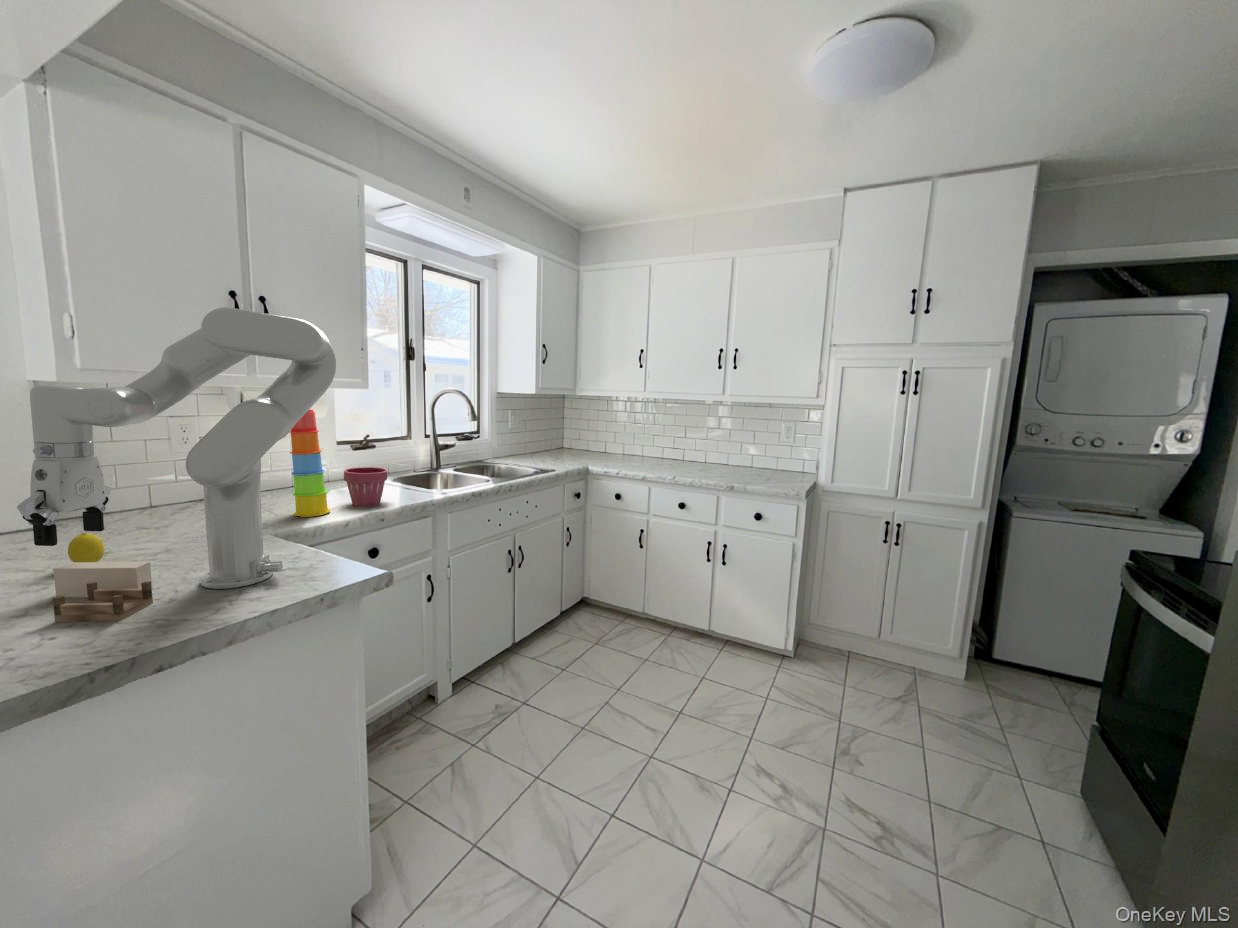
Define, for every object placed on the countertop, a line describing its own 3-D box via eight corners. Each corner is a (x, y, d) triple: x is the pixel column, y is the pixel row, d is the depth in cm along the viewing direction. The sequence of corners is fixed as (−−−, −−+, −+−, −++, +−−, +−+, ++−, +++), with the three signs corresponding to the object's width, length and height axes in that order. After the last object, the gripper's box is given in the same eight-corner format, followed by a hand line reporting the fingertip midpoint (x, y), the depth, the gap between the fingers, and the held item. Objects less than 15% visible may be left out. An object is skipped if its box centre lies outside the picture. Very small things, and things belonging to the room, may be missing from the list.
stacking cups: (308, 519, 156) (304, 410, 151) (286, 514, 159) (281, 409, 154) (337, 512, 165) (333, 410, 161) (315, 508, 169) (311, 408, 164)
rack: (153, 602, 94) (151, 581, 93) (120, 620, 87) (118, 597, 86) (93, 603, 92) (91, 581, 92) (55, 621, 85) (52, 598, 85)
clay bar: (152, 589, 100) (150, 561, 99) (138, 596, 97) (135, 567, 96) (73, 590, 98) (70, 562, 97) (56, 598, 94) (52, 568, 94)
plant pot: (396, 503, 181) (395, 469, 179) (359, 510, 169) (358, 474, 167) (373, 498, 188) (372, 465, 187) (336, 504, 176) (335, 469, 175)
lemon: (104, 561, 113) (101, 527, 112) (107, 567, 110) (103, 533, 109) (69, 566, 109) (65, 532, 108) (70, 573, 106) (66, 537, 105)
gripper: (42, 457, 85) (49, 552, 87) (125, 447, 102) (130, 526, 104) (-10, 455, 83) (-1, 551, 86) (84, 445, 100) (89, 525, 103)
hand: (71, 537), depth 95 cm, fingers open, 9 cm apart
